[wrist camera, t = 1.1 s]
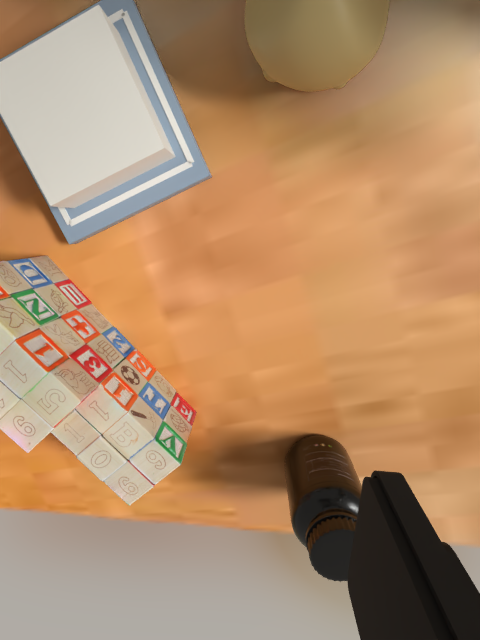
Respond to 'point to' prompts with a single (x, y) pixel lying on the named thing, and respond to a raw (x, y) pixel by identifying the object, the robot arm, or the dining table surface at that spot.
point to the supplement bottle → (323, 502)
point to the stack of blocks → (83, 383)
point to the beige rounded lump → (314, 39)
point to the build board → (98, 120)
